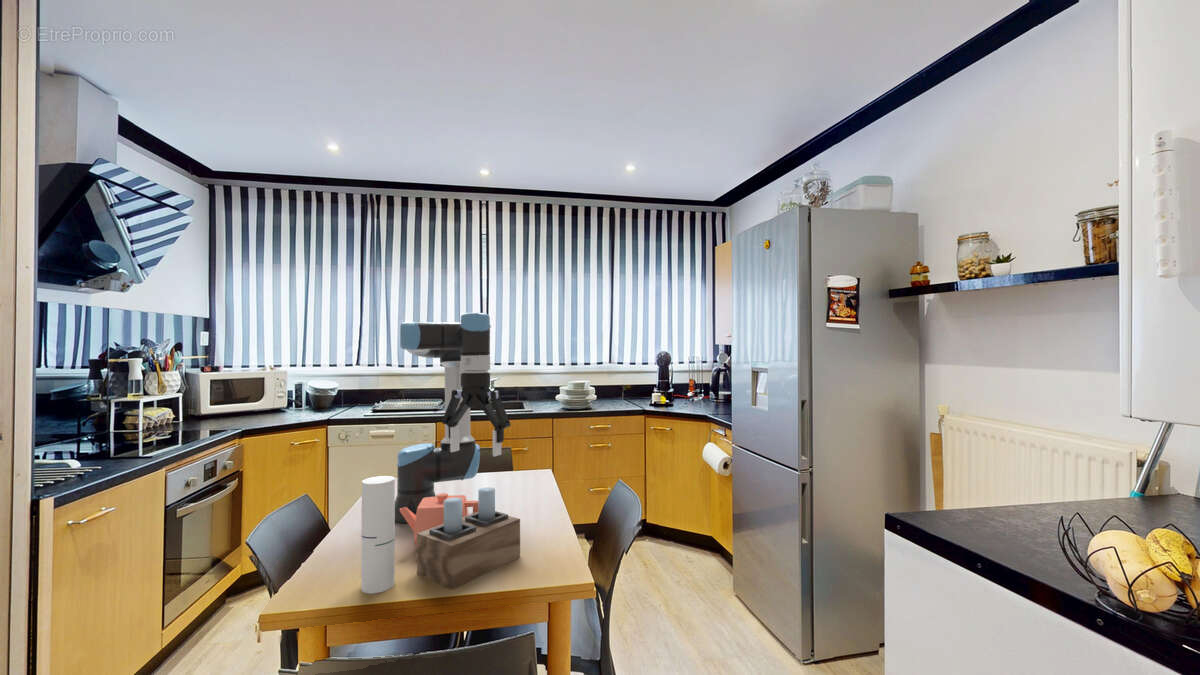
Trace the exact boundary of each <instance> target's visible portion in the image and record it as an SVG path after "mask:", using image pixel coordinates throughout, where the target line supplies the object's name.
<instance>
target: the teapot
mask: <svg viewBox="0 0 1200 675" xmlns="http://www.w3.org/2000/svg"><path fill="white" fill-rule="evenodd" d="M435 495H436V497H425V498H423V499H422V501H421V502H420V504H419V506H418V508H417V513H416V515H415V514H414V513H413V512H411V511H410V510H409V509H408V508H407V507H404V508H400V512H401V514H402V515H403V517H404V518H405V520H406V521H407V523H406V524H407V525H409V527H410V528H411V530H412V531H413V540H414V546H415V547H416V548H417V533H419V532H422V531H425V530H428V529H430V528H433V527H436V526H439V525H442V524H444V500H446V499H448V498H461V499H462V517H465V516H467V515H469V510H468V508H472V514H473V513H476V512H478V500H467V497H466V495H464V494H462V495H461V494H459V495H458V494H457V495H449V494H448V493H446V492H444V493H443V492H442V493H438V494H435Z"/></svg>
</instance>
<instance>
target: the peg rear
mask: <svg viewBox="0 0 1200 675" xmlns="http://www.w3.org/2000/svg"><path fill="white" fill-rule="evenodd" d="M477 492H478V493H477V494H478V495H477V496H478V499H477V501H478V519H479V520H483V521H488V520H491V519H494V518H495V511H496V489H495V487H481V488H479V489H478V490H477Z"/></svg>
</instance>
